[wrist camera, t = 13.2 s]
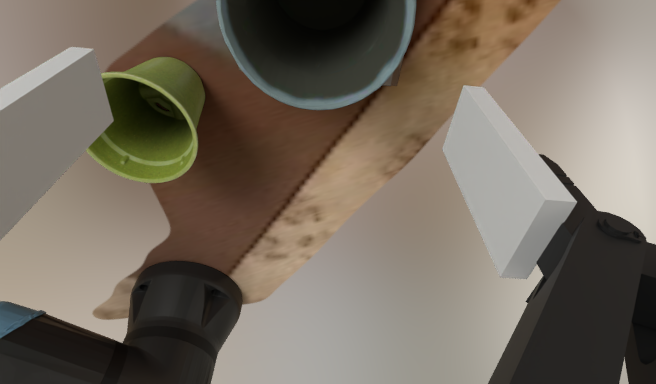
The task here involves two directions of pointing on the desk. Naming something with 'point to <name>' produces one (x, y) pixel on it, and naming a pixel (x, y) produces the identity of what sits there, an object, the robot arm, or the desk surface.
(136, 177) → the plant pot
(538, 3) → the desk surface
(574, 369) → the robot arm
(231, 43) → the blue ceramic cup
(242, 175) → the desk surface
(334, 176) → the desk surface
